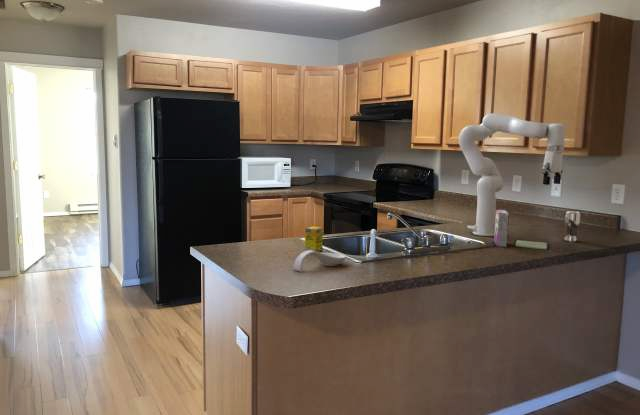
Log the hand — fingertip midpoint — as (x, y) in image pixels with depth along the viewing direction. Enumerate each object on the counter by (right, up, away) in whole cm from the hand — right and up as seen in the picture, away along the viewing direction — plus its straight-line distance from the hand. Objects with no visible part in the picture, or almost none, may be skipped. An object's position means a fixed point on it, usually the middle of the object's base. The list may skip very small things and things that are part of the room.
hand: (551, 184), depth 251 cm
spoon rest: (-114, -35, -48) cm, 128 cm away
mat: (-10, -30, -1) cm, 32 cm away
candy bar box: (-25, -30, 0) cm, 39 cm away
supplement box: (-117, -31, -23) cm, 123 cm away
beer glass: (+15, -29, +12) cm, 35 cm away
